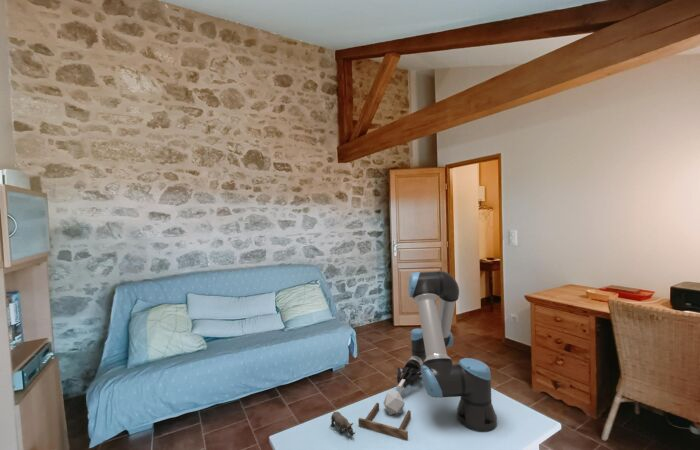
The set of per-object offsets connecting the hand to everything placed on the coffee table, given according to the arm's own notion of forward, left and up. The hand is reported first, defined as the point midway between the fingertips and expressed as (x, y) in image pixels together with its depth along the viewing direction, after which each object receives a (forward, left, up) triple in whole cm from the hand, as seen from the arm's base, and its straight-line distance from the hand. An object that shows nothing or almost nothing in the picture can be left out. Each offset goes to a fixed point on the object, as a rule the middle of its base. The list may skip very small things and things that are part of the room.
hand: (399, 388), depth 143 cm
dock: (0, +16, -6) cm, 17 cm away
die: (0, +8, -6) cm, 10 cm away
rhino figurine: (+14, +28, -6) cm, 32 cm away
